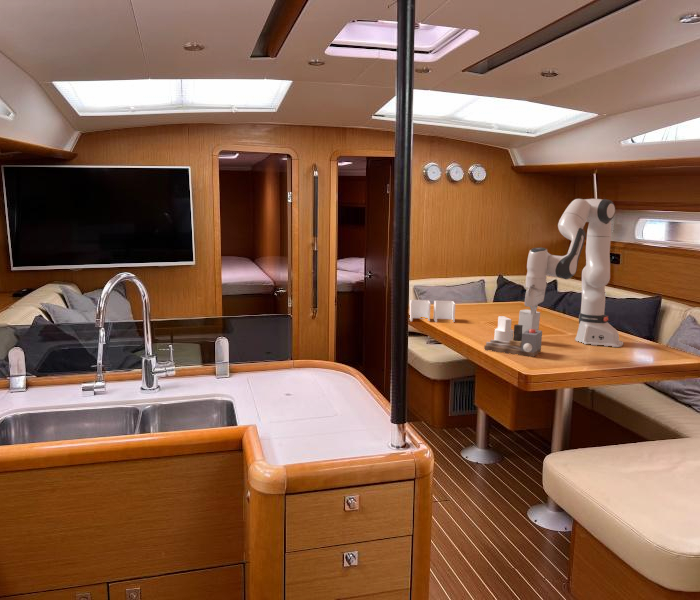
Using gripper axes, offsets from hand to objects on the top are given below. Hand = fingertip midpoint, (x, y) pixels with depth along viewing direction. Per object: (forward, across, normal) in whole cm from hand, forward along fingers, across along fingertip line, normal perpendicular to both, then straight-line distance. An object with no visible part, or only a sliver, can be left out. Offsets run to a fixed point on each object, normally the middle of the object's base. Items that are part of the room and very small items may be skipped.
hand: (533, 314), depth 283 cm
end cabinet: (+18, 0, 0) cm, 18 cm away
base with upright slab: (+19, +17, +18) cm, 31 cm away
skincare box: (+19, +24, +8) cm, 31 cm away
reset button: (+10, 0, 0) cm, 10 cm away
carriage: (+15, 0, +6) cm, 16 cm away
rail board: (+18, 0, +8) cm, 20 cm away
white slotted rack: (+19, +47, +69) cm, 86 cm away
